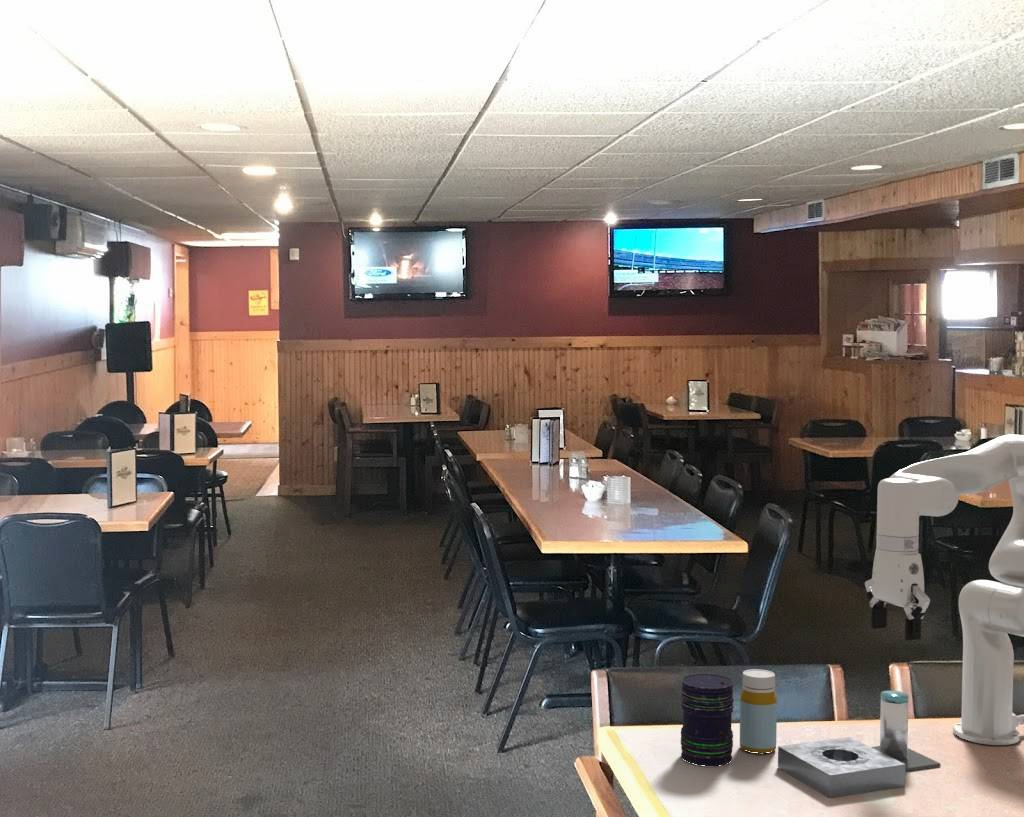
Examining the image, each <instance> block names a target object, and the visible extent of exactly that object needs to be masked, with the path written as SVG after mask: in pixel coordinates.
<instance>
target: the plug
mask: <svg viewBox="0 0 1024 817" xmlns="http://www.w3.org/2000/svg"><path fill="white" fill-rule="evenodd" d="M909 696H910V695H909V694H908V693H906V692H903V691H898V690H884V691H881V692H880V719H879V722H880V726H879V731H880V732H879V746H880V752H882V753H884V754H886V755H888V756H890V757H892V758H894V759H896V760H898V761H904V760H906V759H907V750H908V748H909V747H908V744H909V743H908V742H909V741H908V740H909Z"/></svg>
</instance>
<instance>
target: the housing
mask: <svg viewBox="0 0 1024 817" xmlns="http://www.w3.org/2000/svg"><path fill="white" fill-rule="evenodd" d="M777 747H778V748H777V768H778V767H779V768H778V769H780V768H781V769H780V770H781V771H783V770H784V771H783V772H785V771H786V773H787V774H788V773H789V775H791V776H792V777H793V776H794V777H793V778H795V779H797V780H799V781H800V782H802V783H803V784H806V785H808V786H809V787H810V788H812V789H814V790H815V791H818V792H819V793H821V794H823V795H824V796H826V797H828V798H829V799H831V798H837V797H844V796H850V795H858V794H863V793H871V792H877V791H882V790H888V789H889V790H890V789H896V788H902V787H906V772H905V764H904V763H902V762H900V761H898V760H896V759H894V758H892V757H890V756H888V755H886V754H884V753H882V752H880V751H877V750H875V749H873V748H871V747H872V746H869V745H867V744H866V743H863V742H861V741H859V740H857V739H855V738H854V737H851V736H846V737H844V736H843V737H837V738H831V739H823V740H816V741H815V740H814V741H808V742H799V743H793V744H786V745H778V746H777Z"/></svg>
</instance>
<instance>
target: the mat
mask: <svg viewBox="0 0 1024 817" xmlns="http://www.w3.org/2000/svg"><path fill="white" fill-rule="evenodd" d="M870 747H871V748H873V749H875V750H877V751H880V745H877V746H870ZM900 762H902V763H904V764H905V771H907V772H911V771H910V770H913V771H916V770H915V769H920V770H926V769H925V768H927V769H930V768H929V767H934V768H939V766H940V767H941V763H940V762H938V761H936V760H934V759H932V758H930V757H928V756H926V755H924V754H921V753H920V752H917V751H915V750H914V749H911V748H909V747H908V750H907V759H906V760H904V761H900ZM937 766H938V767H937ZM922 768H923V769H922Z"/></svg>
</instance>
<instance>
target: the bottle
mask: <svg viewBox="0 0 1024 817" xmlns="http://www.w3.org/2000/svg"><path fill="white" fill-rule="evenodd" d="M739 697H740V698H739V747H740V748H741V750H743V749H744V750H747V751H750V752H758V753H766V752H771V751H773V752H775V750H776V749H777V722H778V720H777V719H778V718H777V714H778V712H777V711H778V705H777V704H778V701H777V700H778V698H777V693H776V675H775V673H774V672H773V671H770V670H766V669H759V668H758V669H757V668H756V669H755V668H752V669H751V668H750V669H746V670H744V671H742V690H741V693H740V696H739ZM744 750H743V751H744Z"/></svg>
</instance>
